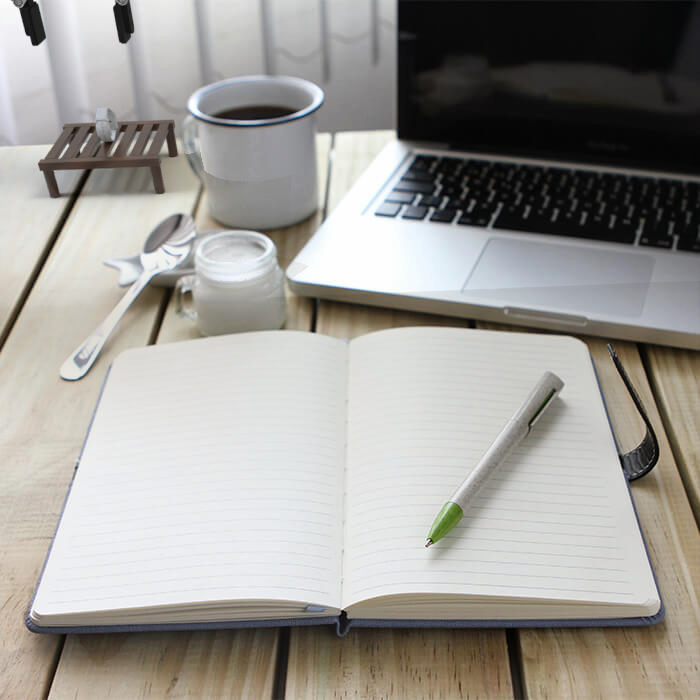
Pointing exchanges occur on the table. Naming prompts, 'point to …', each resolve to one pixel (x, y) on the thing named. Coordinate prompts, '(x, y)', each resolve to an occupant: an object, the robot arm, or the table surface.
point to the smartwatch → (106, 124)
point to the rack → (109, 150)
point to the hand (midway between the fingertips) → (82, 41)
